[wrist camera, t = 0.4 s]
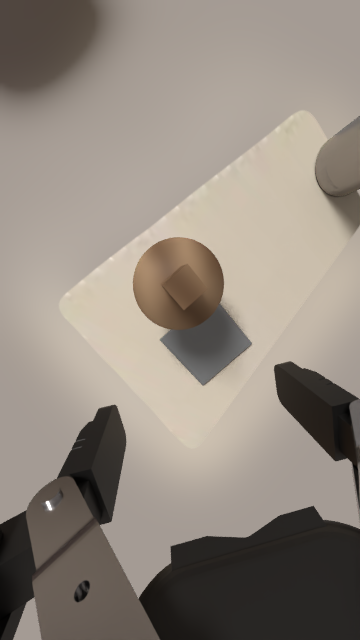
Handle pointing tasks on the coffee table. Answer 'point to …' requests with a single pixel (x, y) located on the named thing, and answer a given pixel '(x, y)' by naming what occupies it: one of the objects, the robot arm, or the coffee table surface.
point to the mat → (207, 345)
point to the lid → (178, 283)
